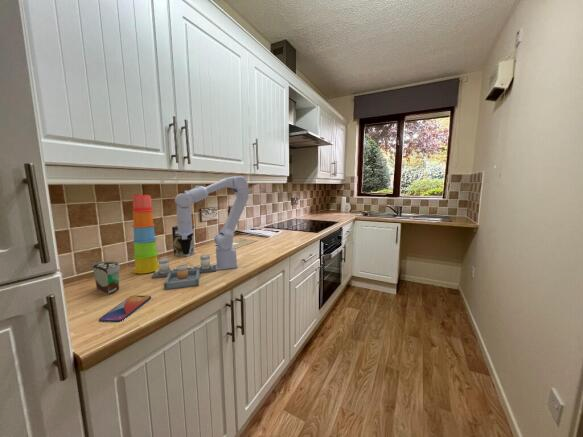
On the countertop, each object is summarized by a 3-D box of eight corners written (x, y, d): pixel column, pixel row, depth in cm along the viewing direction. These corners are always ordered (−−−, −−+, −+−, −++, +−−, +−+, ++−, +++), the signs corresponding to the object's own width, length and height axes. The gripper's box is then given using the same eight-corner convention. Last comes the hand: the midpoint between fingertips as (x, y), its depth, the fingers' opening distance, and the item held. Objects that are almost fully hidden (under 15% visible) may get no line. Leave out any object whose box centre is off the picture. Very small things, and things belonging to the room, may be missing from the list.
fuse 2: (210, 266, 115) (209, 254, 114) (210, 269, 111) (209, 256, 110) (201, 267, 113) (200, 255, 112) (200, 270, 110) (200, 257, 109)
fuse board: (215, 266, 117) (215, 262, 117) (216, 271, 110) (215, 267, 110) (155, 272, 109) (154, 268, 108) (151, 278, 102) (151, 274, 102)
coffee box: (173, 256, 133) (171, 227, 131) (181, 252, 139) (179, 225, 137) (187, 257, 130) (185, 228, 128) (195, 254, 137) (193, 225, 134)
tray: (199, 274, 107) (199, 269, 106) (198, 285, 95) (198, 279, 95) (169, 277, 103) (168, 272, 103) (164, 289, 92) (164, 283, 91)
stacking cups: (128, 272, 109) (120, 195, 104) (150, 265, 118) (144, 194, 113) (143, 276, 105) (135, 195, 100) (164, 268, 114) (158, 194, 109)
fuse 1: (170, 270, 109) (169, 257, 108) (169, 273, 105) (168, 260, 105) (160, 271, 108) (159, 258, 107) (158, 274, 104) (157, 261, 103)
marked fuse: (188, 278, 102) (187, 264, 101) (188, 281, 98) (187, 267, 97) (178, 279, 100) (177, 265, 99) (177, 283, 97) (176, 268, 96)
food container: (129, 289, 92) (126, 264, 90) (110, 296, 87) (107, 269, 85) (113, 282, 98) (110, 258, 96) (95, 288, 93) (91, 263, 91)
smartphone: (97, 323, 71) (96, 320, 71) (132, 298, 86) (131, 295, 86) (121, 323, 71) (121, 320, 71) (152, 298, 86) (152, 295, 85)
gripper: (176, 219, 110) (178, 248, 112) (172, 224, 97) (175, 257, 99) (192, 218, 113) (194, 246, 115) (191, 223, 99) (193, 255, 101)
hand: (186, 251), depth 107 cm, fingers open, 7 cm apart
